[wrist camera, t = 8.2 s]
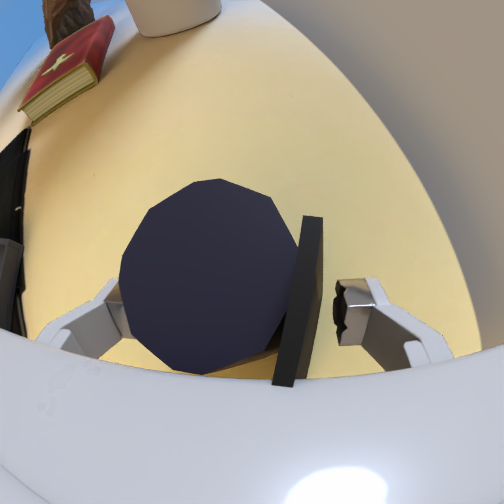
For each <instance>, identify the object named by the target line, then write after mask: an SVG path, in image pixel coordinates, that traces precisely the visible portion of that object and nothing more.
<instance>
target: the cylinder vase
mask: <svg viewBox="0 0 504 504" xmlns="http://www.w3.org/2000/svg"><path fill="white" fill-rule="evenodd" d="M125 2H126V4H127V6H128V8H129V11H130V13H131V15H132V17H133V19H134V22H135V24H136V26H137V28H138V31H139V32H140V34H142V35H143V36H147V37H159V36H166V35H170V34H174V33H178V32H181V31H185V30H188V29H191V28H193V27H196V26H198V25H201V24H203V23H205V22H207V21H209V20H210V19H212V18H214V17H215V16H216V15H217V14H218V13H219V12H220V10H221V8H222V5H221V0H125Z"/></svg>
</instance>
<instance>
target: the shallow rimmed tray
mask: <svg viewBox="0 0 504 504" xmlns="http://www.w3.org/2000/svg"><path fill="white" fill-rule="evenodd" d="M23 249H24V246H23V245H21V244H19V243H17V242H15V241H13V240H10V239H4V238H0V328H1V329H4V330H6V331H9V332H11V322H12V312H13V303H14V296H15V289H16V283H17V277H18V272H19V267H20V262H21V258H22V253H23Z"/></svg>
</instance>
